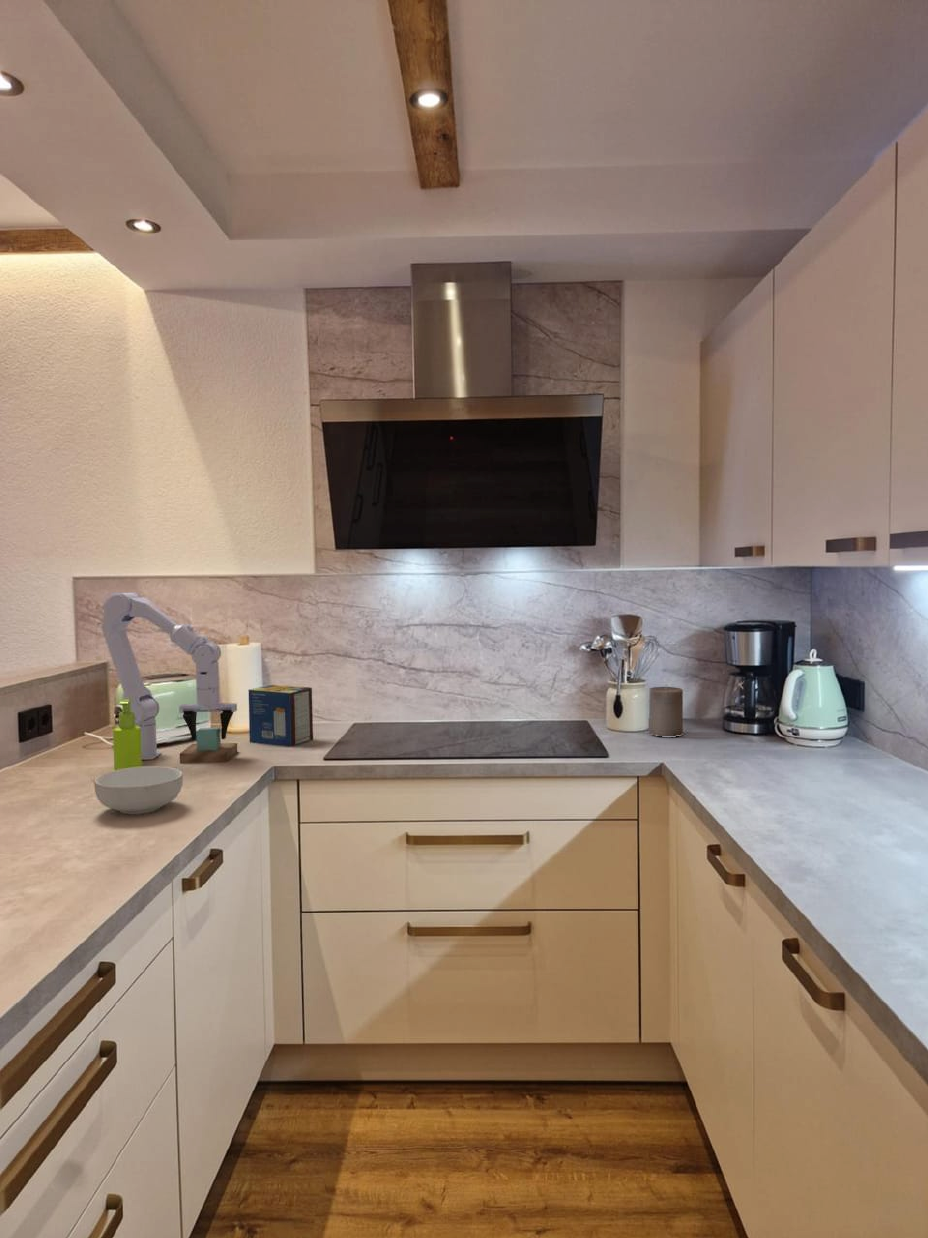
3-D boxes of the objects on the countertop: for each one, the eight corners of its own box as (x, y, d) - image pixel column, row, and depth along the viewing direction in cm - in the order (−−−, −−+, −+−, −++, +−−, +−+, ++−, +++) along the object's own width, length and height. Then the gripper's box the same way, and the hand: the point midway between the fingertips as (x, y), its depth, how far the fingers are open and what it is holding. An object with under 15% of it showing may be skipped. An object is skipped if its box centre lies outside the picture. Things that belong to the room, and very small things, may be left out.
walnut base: (179, 765, 207) (179, 753, 207) (192, 754, 219) (192, 743, 219) (227, 764, 207) (226, 752, 207) (237, 753, 219) (237, 742, 219)
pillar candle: (676, 731, 243) (676, 682, 242) (687, 737, 233) (687, 686, 232) (644, 732, 242) (644, 682, 241) (654, 738, 233) (654, 687, 232)
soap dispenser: (112, 789, 181) (109, 701, 180) (116, 782, 188) (114, 697, 187) (140, 787, 183) (137, 700, 182) (143, 780, 189) (141, 696, 188)
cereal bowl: (88, 825, 156) (87, 789, 155) (101, 801, 172) (100, 769, 171) (181, 816, 160) (180, 782, 160) (185, 795, 176) (184, 763, 176)
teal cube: (196, 750, 210) (196, 731, 210) (201, 746, 215) (201, 728, 215) (216, 750, 210) (215, 731, 210) (220, 746, 215) (220, 727, 215)
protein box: (272, 735, 241) (270, 684, 240) (313, 740, 234) (312, 687, 234) (248, 742, 232) (247, 689, 231) (291, 747, 225) (290, 692, 224)
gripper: (175, 690, 207) (176, 742, 208) (232, 689, 209) (233, 741, 209) (182, 686, 214) (184, 737, 215) (237, 685, 216) (239, 735, 216)
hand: (209, 738), depth 213 cm, fingers open, 7 cm apart
